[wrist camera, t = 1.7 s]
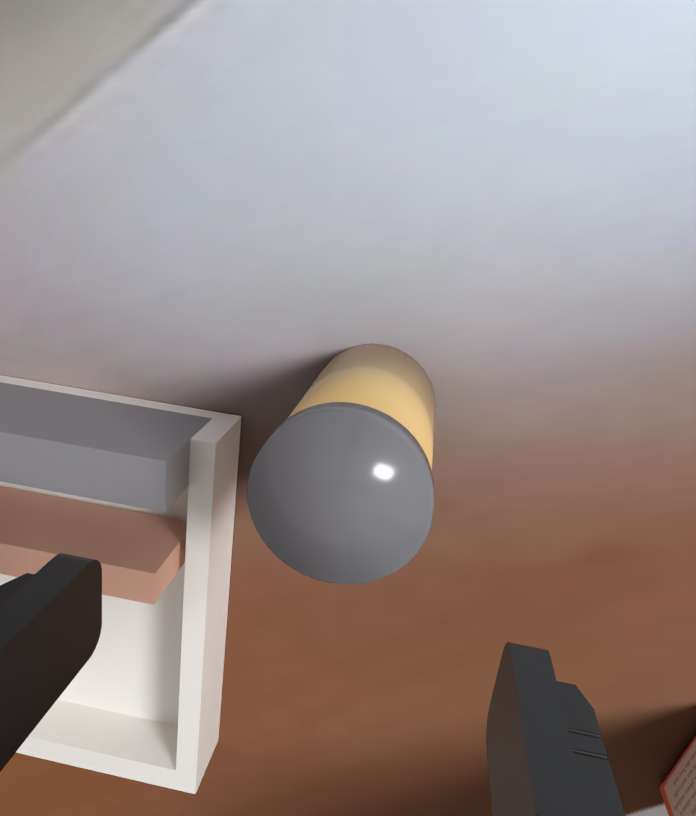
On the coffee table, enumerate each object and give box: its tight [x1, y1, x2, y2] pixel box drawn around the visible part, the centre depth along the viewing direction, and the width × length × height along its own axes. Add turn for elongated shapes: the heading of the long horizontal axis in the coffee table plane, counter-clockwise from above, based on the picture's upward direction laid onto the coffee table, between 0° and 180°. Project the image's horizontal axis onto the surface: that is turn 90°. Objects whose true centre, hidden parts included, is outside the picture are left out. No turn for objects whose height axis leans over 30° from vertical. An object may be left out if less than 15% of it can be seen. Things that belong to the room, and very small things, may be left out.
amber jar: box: [247, 344, 435, 584], centre depth 22 cm, size 5×5×9 cm
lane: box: [0, 375, 242, 794], centre depth 28 cm, size 18×13×5 cm
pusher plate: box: [0, 486, 187, 605], centre depth 26 cm, size 1×10×4 cm, turn 83°
